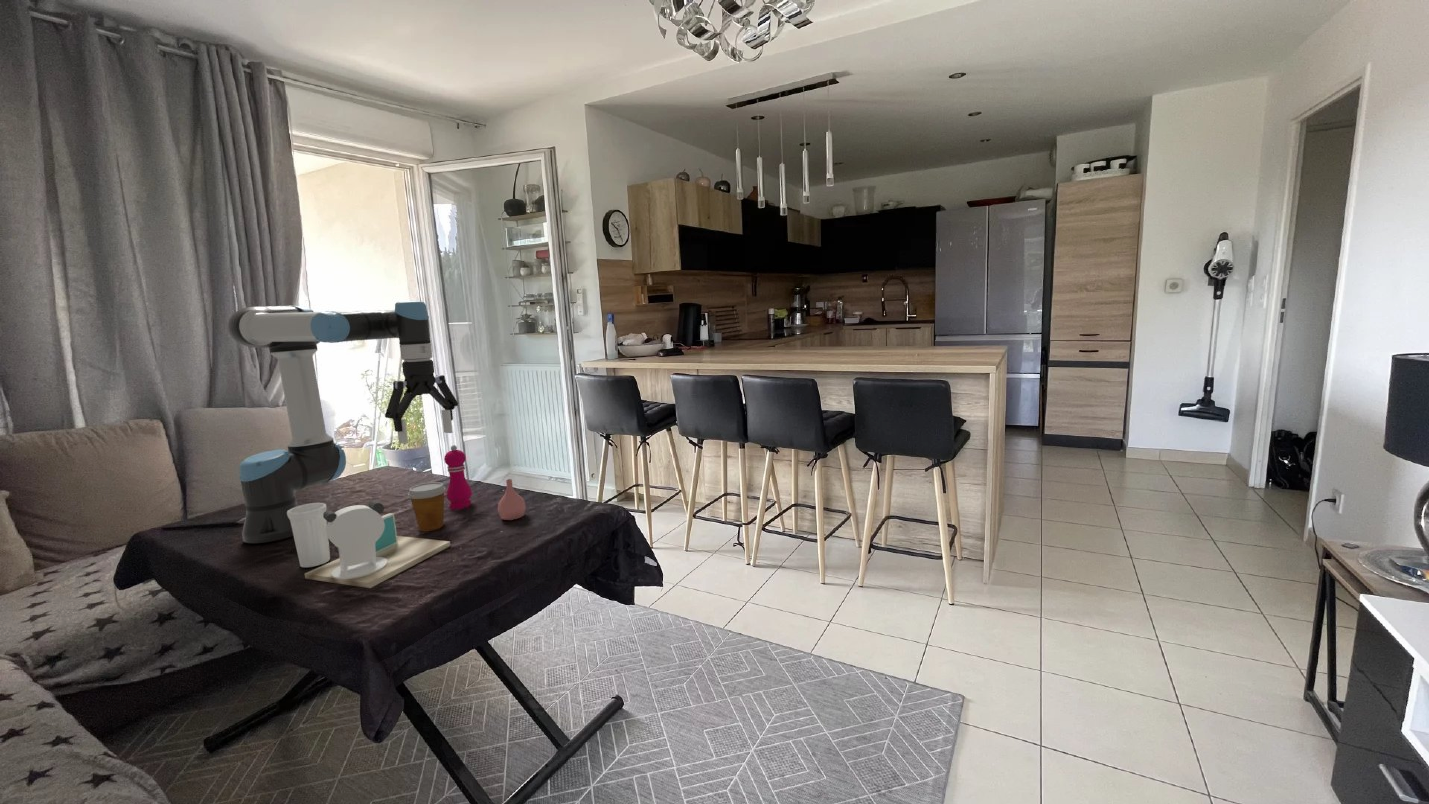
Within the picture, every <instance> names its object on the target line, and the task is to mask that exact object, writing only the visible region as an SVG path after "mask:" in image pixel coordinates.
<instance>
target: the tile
mask: <svg viewBox="0 0 1429 804" xmlns="http://www.w3.org/2000/svg"><path fill="white" fill-rule="evenodd" d="M380 516H381V517H382V518H383V520H384V523H385V528H384V531H383V533H382V535H381V537H380V538H379V539H378V540H377V541H376V542H375V550H376V553H378V552H380V551H382V550H384V549H386V548H389V547H391V546H393V545H395V544H397V543H398V540H397V536H398V533H397V527H396V519H395V513H393V512H392V513H391V512H390V513H387V514H384V515H380Z"/></svg>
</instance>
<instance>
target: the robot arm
mask: <svg viewBox="0 0 1429 804" xmlns="http://www.w3.org/2000/svg"><path fill="white" fill-rule="evenodd" d="M429 319H430V318H429V313H428V308H427V305H426V302H424V301H417V300H415V301H396V302H395V303H394V309H391V310H389V309H387V310H385V309H384V310H381V309H380V310H354V311H353V310H352V311H347V310H346V311H345V310H343V311H341V310H339V311H333V310H332V311H330V310H328V311H327V310H326V311H314V310H313V309H311V308H309V307H307V306H303V305H302V306H300V305H271V306H269V305H267V306H259V305H258V306H255V305H254V306H253V305H252V306H248V307H243V308H240V309H237V310H236V311H235V312H233V314H231V316H230V317H229V319H228V321H227V330H228V332H229V335H230V337H231V338H232V339H233V340H234V341H235V342H236V343H238V344H240V345H242V346H245V347H247V348H254V349H255V348H256V349H259V348H262V349H263V348H268V349H269V353H270V355H271V356H273V357H275V358H276V359H277V363H278V368H279V374H280V378H281V384H282V389H283V390H282V391H283V395H284V396H283V397H284V400H285V401H284V402H285V407H286V411H287V416H288V423H289V428H290V432H291V439H290V441H289V442H288V443H287V449H284V448H282V449H273V450H268V451H262V452H259V453H257V454H253V455H251V456H248V457H247V458H245V459H243V460H242V461H241V462H240V463H239V465H238V466H239V467H238V469H239V470H238V471H239V473H238V474H239V477H238V478H239V481H240V485H241V489H242V495H243V501H244V507H245V510H246V511H245V512H246V514H245V519H244V522H243V527H242V531H241V537H242V541H243V542H244V543H247V544H261V543H270V542H271V543H272V542H275V541H281V540H284V539H287V538H291V537H294V535H293V531H292V526H291V522H290V519H289V518H288V516H287V511H288V510H290V509H292V508H294V507H297V506H299V504H298V501H297V497H296V492H298V491H302V490H305V489H308V488H311V487H316V486H318V485H324V484H325V485H326V484H327V483H329V482H332V481H334V480H336V479H338V478H340V476H341V475H342V474H343V473H344V472H345V469H346V465H347V456H346V452H345V450H344V449H342V446H341V445H340V444H339V443H337V442H335V441H334V438H333V437H332V436H330V435H329V434H328V433H327V430H326V425H325V420H324V419H325V418H324V413H323V408H322V401H321V395H320V389H319V385H318V380H317V373H316V367H315V364H314V355H315V354H316V352H317V351H318V345H319V344H320V343H331V344H333V343H343V342H352V341H353V342H355V341H356V342H357V341H368V340H371V341H372V340H386V339H387V340H388V339H398V340H399V342H398V343H399V344H398V345H399V349H400V350H399V351H400V359H401V360H403V361H402V363H401V365H402V366H401V367H402V374H403V376H404V380H403V381H402V380H394V381H392V382H393V383H392V393H391V396H390V398H389V402H388V405H387V407H386V411H385V413H384V417H385V418H386V419H392V420H393V425H394V426H393V428H394V431H395V432H396V433H397V436H398V437H397V438H398V439H397V440H398V444H405V445H406V444H409V439H408V430H407V423H406V422H407V421H406V418H403V417H404V416H405V413H406V411H407V410H408V409H409V407H410V405H411V403H412V401H413V400H414V399H415V398H416V397H417V396H422V395H430V396H431V397H432V398H433V399H434V400H435V401H436V403H438V404H439V405H440V406H441V407H442V408H443V409H441V410H440V411H441V418H442V419H441V420H442V427H443V433H444V434H452V433H453V423H452V421H454V420H453V419H454V416H453V410H455V408H456V407H458V405H459V402H458V400H457V399H456V398H455V395H454V394H453V392H452V390H451V389H450V387H449V386H448V384H447V381H446V380H447V379H446V377H445V375H443V374H441V375H440V374H436V375H434V374H435V366H434V365H435V363H434V360H433V359H432V358H433V356H434V355H433V349H432V340H431V333H430V332H431V331H430V321H429ZM435 383H436V385H437V387H438V388H436V386H435ZM404 389H406V390H405V391H404ZM439 390H440V392H441V393H440V392H439Z"/></svg>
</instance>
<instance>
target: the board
mask: <svg viewBox="0 0 1429 804" xmlns="http://www.w3.org/2000/svg"><path fill="white" fill-rule="evenodd" d="M397 540H398V543H397V544H395V545H393V546H391V547H389V548H386V549H384V550H382V551H380V552H378V553H376V557H383V558H385V559H387V562H388V563H387V565H386V566H385V567H384V568H383V569H381V570H379V571H377V572H375V573H372V574H369V575H366V576H363V577H359V578H353V579H336V578H333V577H332V574H331V573H332V571H333V570H334V569H335V568H337V567H338V566H340V557H338V558H336V559H334V560H332V561H330V562H328V563H327V562H326V563H324V564H322V565H321V566H318V567H316V568H314V569H312V570H310V571H307V572H305V573H304V578H305V579H306V580H313V581H320V582H327V583H333V584H339V585H346V586H353V587H359V588H367V589H372V588H373V587H375V586H377V585H379V584H380V583H383V582H384V581H387V580H388V579H390V578H392V577H394V576H396V575H398V574H400V573H402V572H404V571H405V570H408V569H409V568H411V567H414V566H415V565H417V564H420V562H423V561H425V560H426V559H428V558H430V557H432V556H434V555H436V554H438V553H439V552H441V551H444V550H446V549H448V548H449V547H451V541H448V540H437V539H429V538H419V537H413V536H412V537H411V536H401V535H397Z"/></svg>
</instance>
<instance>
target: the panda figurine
mask: <svg viewBox="0 0 1429 804" xmlns="http://www.w3.org/2000/svg"><path fill="white" fill-rule="evenodd" d="M384 510H385V507H384V505H383V503H381V502H379V501H378V500H376V499H375V500H374V499H373V500H370V501H369V503H368V505H363V504H357V505H351V506H347V507H343V508H341V509H338V510H337V511H335V512H334V511H333V510H331V509H327V510H326V511H325V512H324V514H323V517H324V519H325V520H327V536H328V541H330V542H331V543H332V544H333V545H334V552H335V553H336V554H338V555H339V557H338V558H340V566H338V567H337V568H335V569H334V570H333V571H332V573H331V574H332V577H333V578H336V579H353V578H359V577H363V576H366V575H369V574H372V573H375V572H377V571H379V570H381V569H383V568H384V567H385V566H386V565H387V563H388V562H387V559H385V558H383V557H376V550H375V542H376V541H377V540H378V539H379V538H380V537H381V535H382V533H383V531H384V528H385V523H384V520H383V518H382V517H381V516H382V515H381V513H383V512H384Z"/></svg>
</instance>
